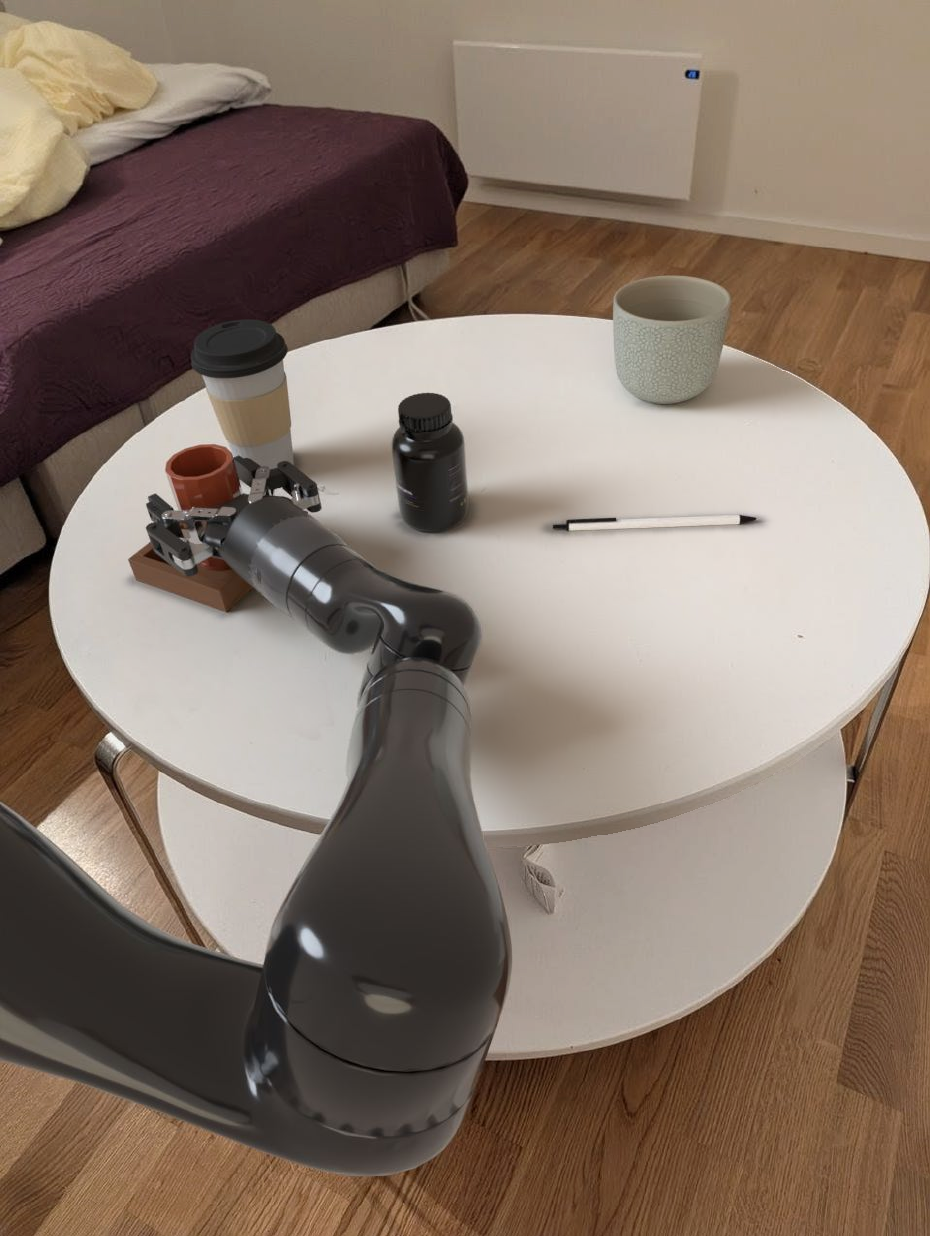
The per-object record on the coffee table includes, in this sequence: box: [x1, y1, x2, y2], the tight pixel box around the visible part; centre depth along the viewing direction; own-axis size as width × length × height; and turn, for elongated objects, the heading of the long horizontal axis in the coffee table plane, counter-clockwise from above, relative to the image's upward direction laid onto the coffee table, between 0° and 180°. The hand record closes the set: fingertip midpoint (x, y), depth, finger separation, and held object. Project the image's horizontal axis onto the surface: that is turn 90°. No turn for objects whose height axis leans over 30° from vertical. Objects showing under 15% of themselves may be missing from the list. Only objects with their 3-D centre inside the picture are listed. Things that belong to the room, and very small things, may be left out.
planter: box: [612, 275, 732, 405], centre depth 102 cm, size 12×12×11 cm
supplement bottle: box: [391, 392, 469, 533], centre depth 87 cm, size 7×7×12 cm
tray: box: [127, 492, 309, 613], centre depth 87 cm, size 13×11×2 cm
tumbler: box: [164, 443, 244, 570], centre depth 84 cm, size 6×6×10 cm
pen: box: [552, 514, 759, 532], centre depth 86 cm, size 1×19×1 cm, turn 88°
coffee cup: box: [190, 319, 295, 469], centre depth 94 cm, size 9×9×15 cm
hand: (196, 483), depth 84 cm, fingers open, 8 cm apart
